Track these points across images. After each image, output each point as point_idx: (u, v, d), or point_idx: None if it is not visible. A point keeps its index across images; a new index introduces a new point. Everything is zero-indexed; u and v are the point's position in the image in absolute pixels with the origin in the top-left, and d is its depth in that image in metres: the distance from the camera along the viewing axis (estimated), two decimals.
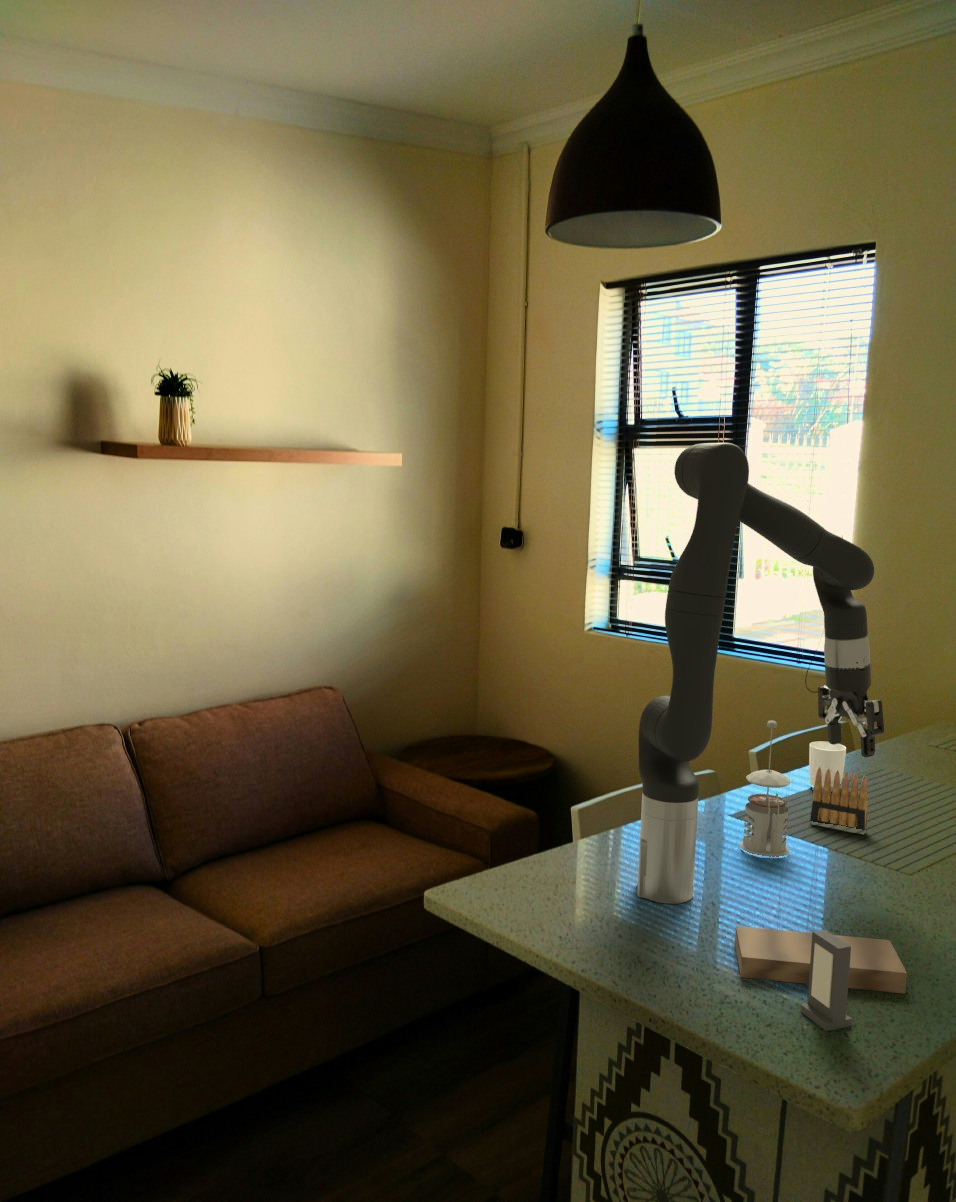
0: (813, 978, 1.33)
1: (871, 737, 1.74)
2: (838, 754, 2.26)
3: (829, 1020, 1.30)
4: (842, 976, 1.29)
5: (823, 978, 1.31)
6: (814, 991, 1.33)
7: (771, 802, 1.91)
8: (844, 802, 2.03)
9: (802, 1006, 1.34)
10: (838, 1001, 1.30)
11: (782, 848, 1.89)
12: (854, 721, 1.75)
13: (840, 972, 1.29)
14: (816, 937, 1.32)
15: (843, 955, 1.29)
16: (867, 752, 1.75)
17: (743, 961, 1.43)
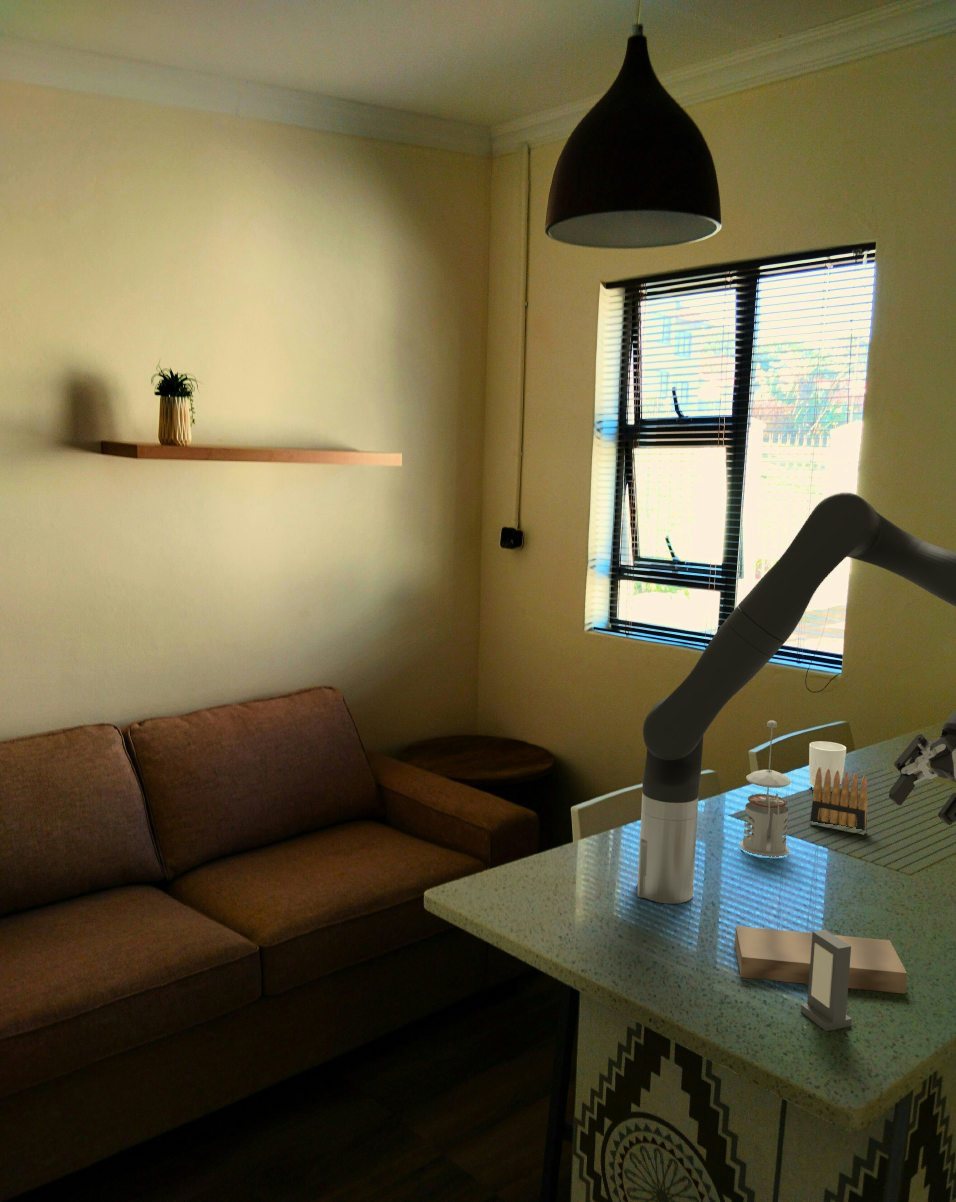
0: (813, 978, 1.33)
1: None
2: (838, 754, 2.26)
3: (829, 1020, 1.30)
4: (842, 976, 1.29)
5: (823, 978, 1.31)
6: (814, 991, 1.33)
7: (771, 802, 1.91)
8: (844, 802, 2.03)
9: (802, 1006, 1.34)
10: (838, 1001, 1.30)
11: (782, 848, 1.89)
12: None
13: (840, 972, 1.29)
14: (816, 937, 1.32)
15: (843, 955, 1.29)
16: (950, 813, 1.30)
17: (743, 961, 1.43)
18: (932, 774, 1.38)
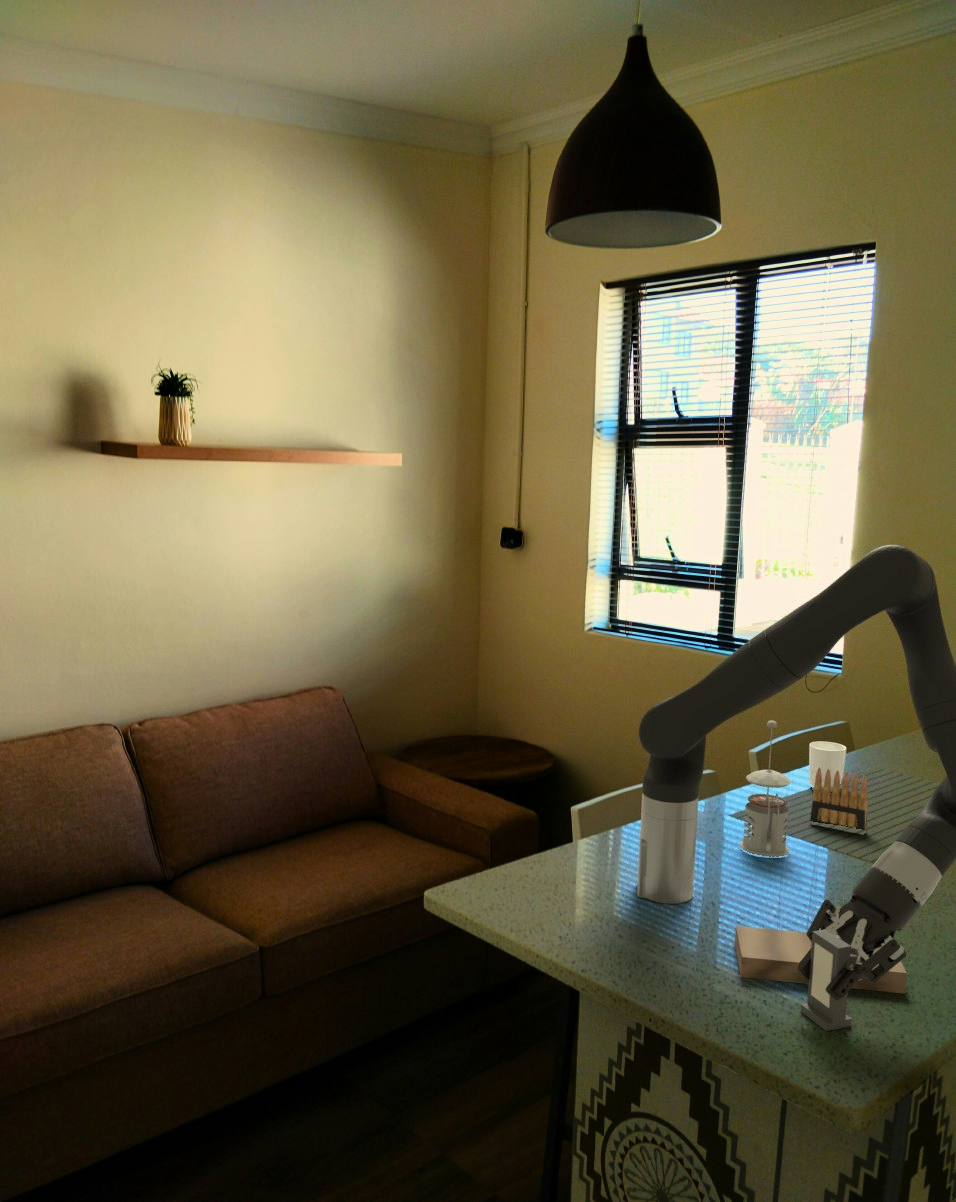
0: (813, 978, 1.33)
1: (854, 977, 1.28)
2: (838, 754, 2.26)
3: (829, 1020, 1.30)
4: None
5: (823, 978, 1.31)
6: (814, 991, 1.33)
7: (771, 802, 1.91)
8: (844, 802, 2.03)
9: (802, 1006, 1.34)
10: (838, 1001, 1.30)
11: (782, 848, 1.89)
12: (854, 945, 1.30)
13: None
14: (816, 937, 1.32)
15: (843, 955, 1.29)
16: (837, 989, 1.28)
17: (743, 961, 1.43)
18: None
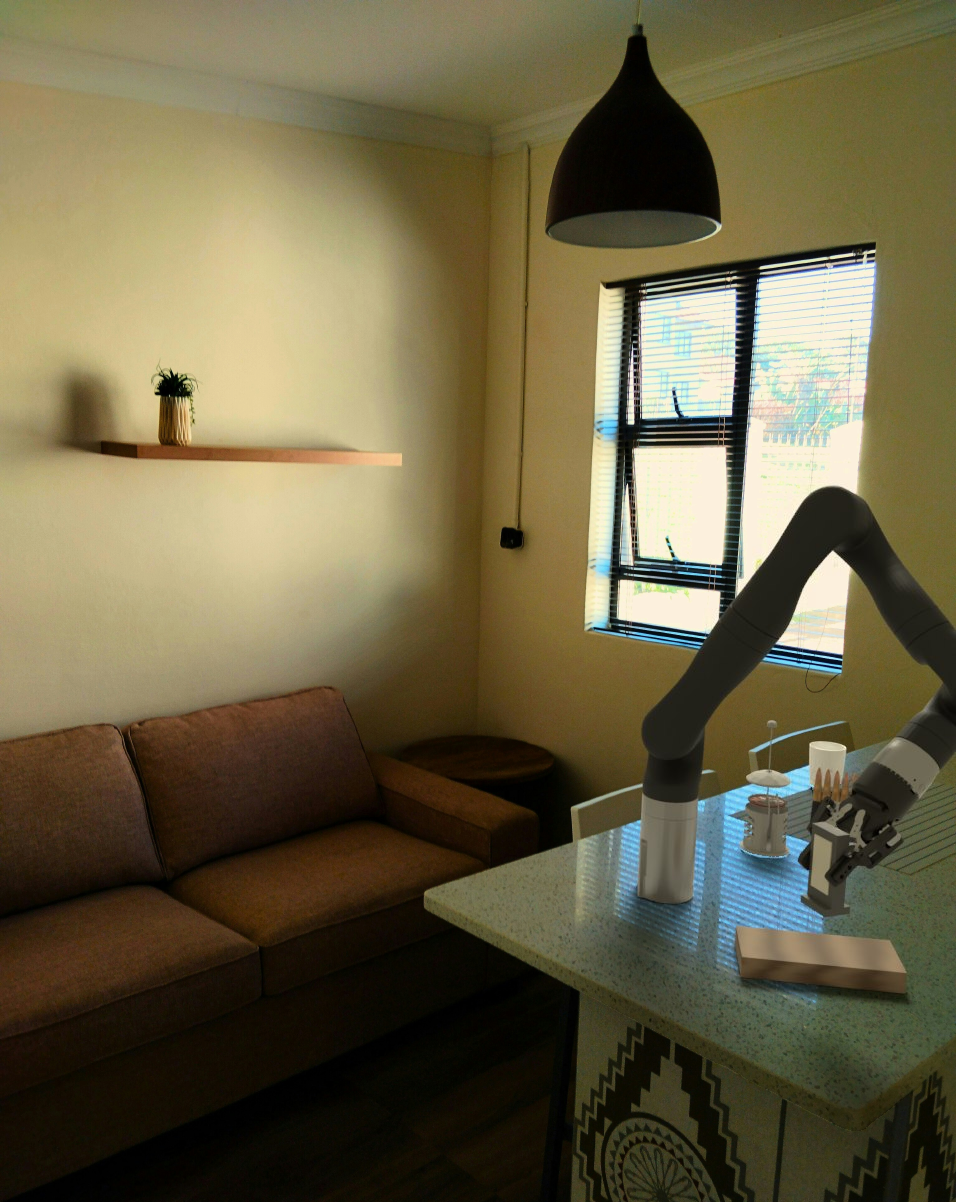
0: (813, 868, 1.36)
1: (853, 864, 1.32)
2: (838, 754, 2.26)
3: (828, 907, 1.34)
4: None
5: (822, 867, 1.34)
6: (813, 881, 1.36)
7: (771, 802, 1.91)
8: None
9: (802, 896, 1.37)
10: (837, 888, 1.33)
11: (782, 848, 1.89)
12: (852, 834, 1.33)
13: None
14: (816, 828, 1.36)
15: (842, 843, 1.32)
16: (835, 875, 1.31)
17: (743, 961, 1.43)
18: None
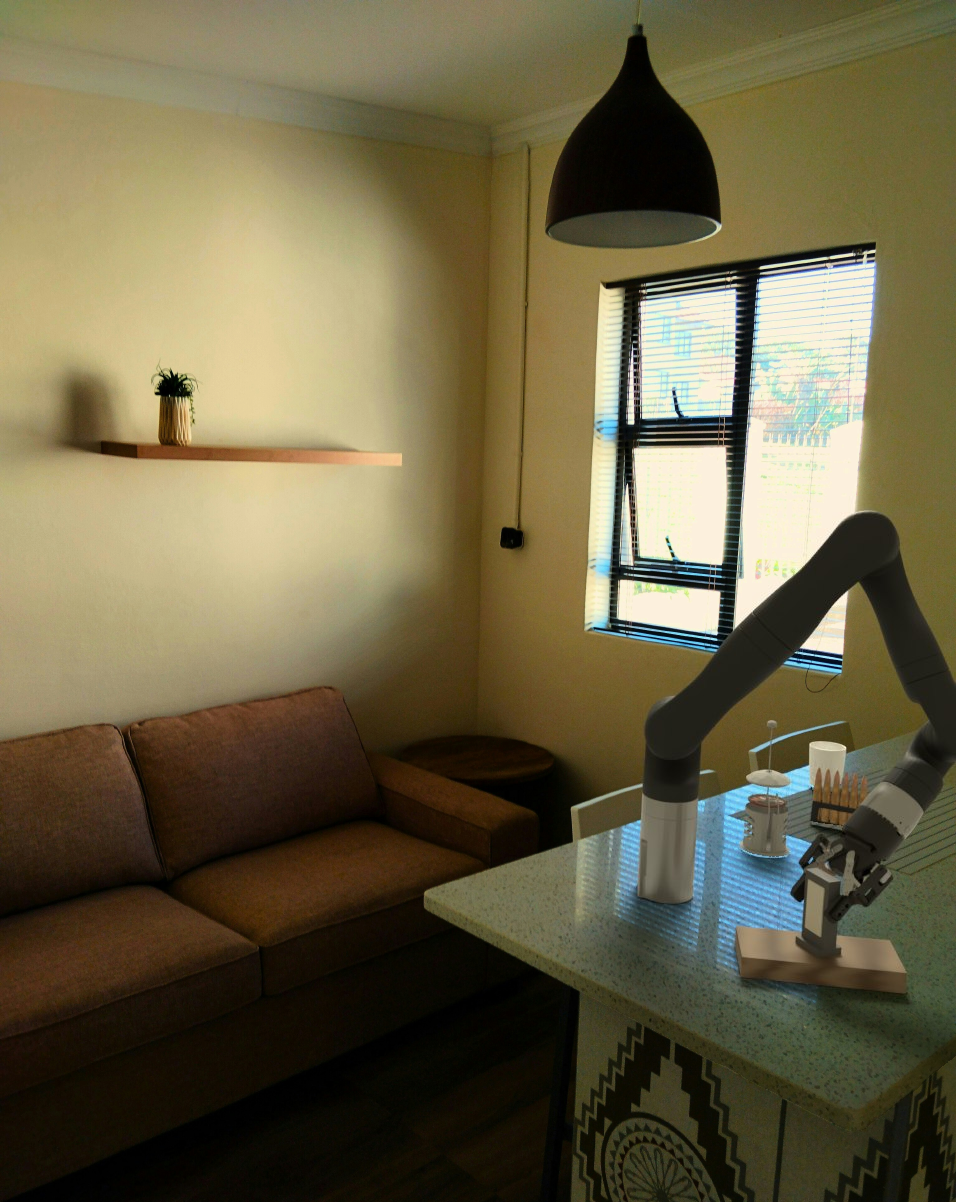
0: (806, 911, 1.46)
1: (850, 902, 1.41)
2: (838, 754, 2.26)
3: (821, 948, 1.43)
4: None
5: (815, 910, 1.44)
6: (807, 923, 1.46)
7: (771, 802, 1.91)
8: (844, 802, 2.03)
9: (796, 937, 1.47)
10: (829, 931, 1.43)
11: (782, 848, 1.89)
12: (846, 874, 1.42)
13: None
14: (809, 874, 1.46)
15: (833, 888, 1.42)
16: (833, 913, 1.40)
17: (743, 961, 1.43)
18: (832, 873, 1.48)
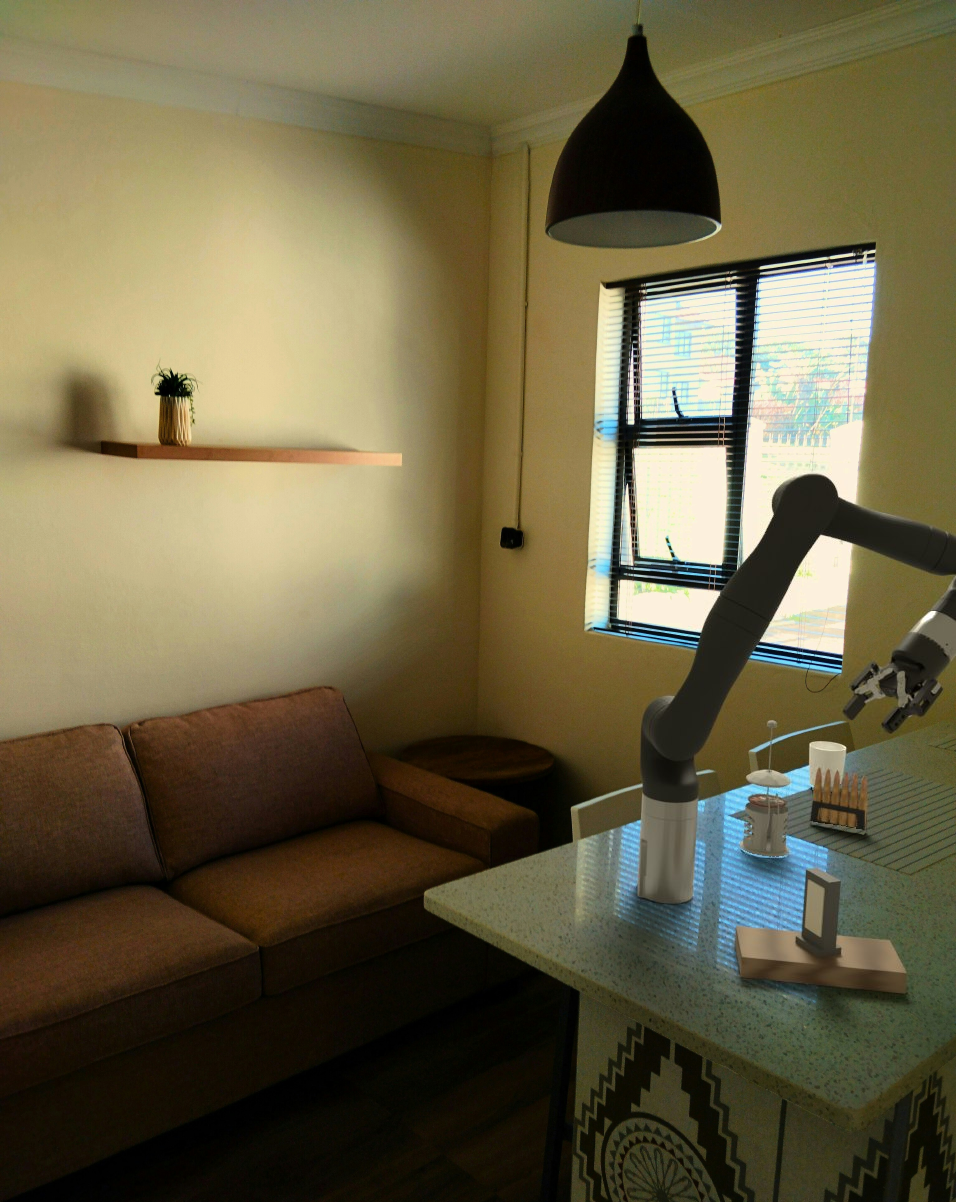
0: (806, 911, 1.46)
1: (906, 713, 1.52)
2: (838, 754, 2.26)
3: (821, 948, 1.43)
4: (832, 908, 1.43)
5: (815, 910, 1.44)
6: (807, 923, 1.46)
7: (771, 802, 1.91)
8: (844, 802, 2.03)
9: (796, 937, 1.47)
10: (829, 931, 1.43)
11: (782, 848, 1.89)
12: (900, 690, 1.54)
13: (831, 904, 1.42)
14: (809, 874, 1.46)
15: (833, 888, 1.42)
16: (891, 723, 1.52)
17: (743, 961, 1.43)
18: (881, 694, 1.60)
